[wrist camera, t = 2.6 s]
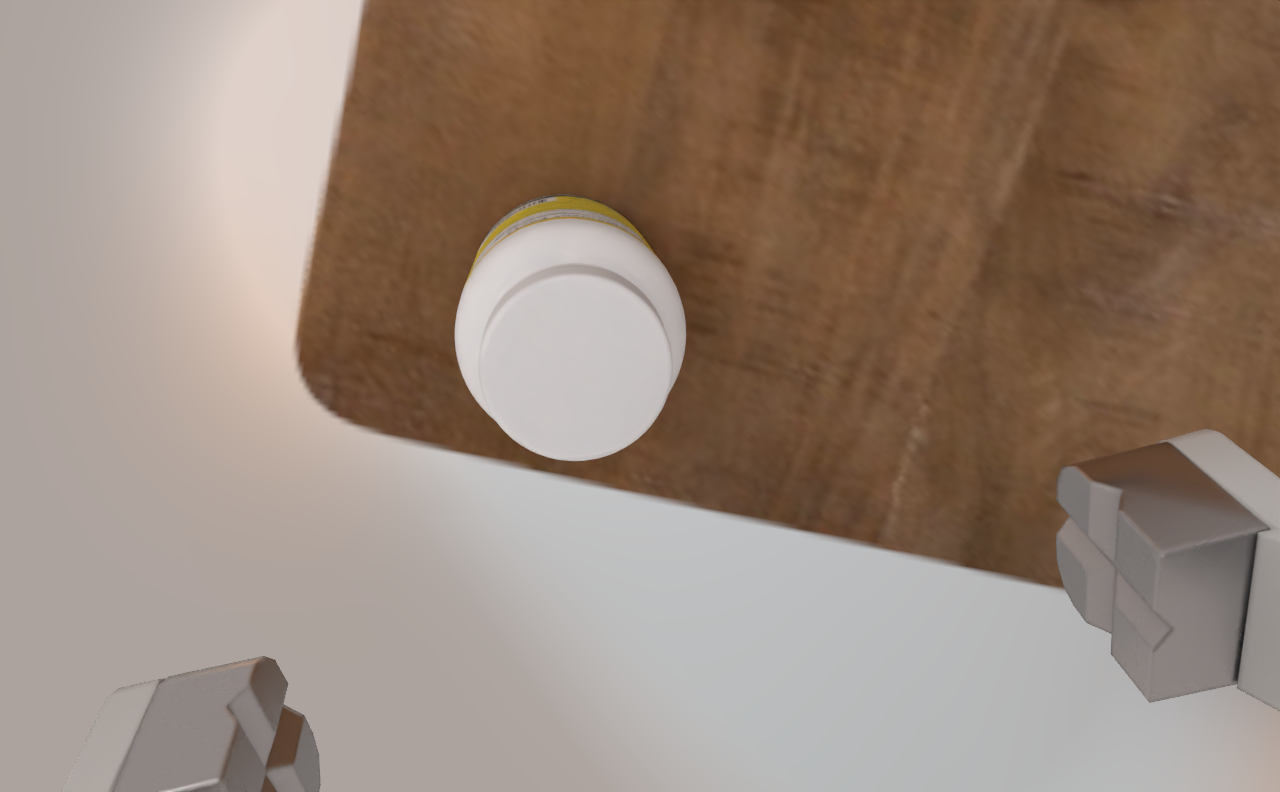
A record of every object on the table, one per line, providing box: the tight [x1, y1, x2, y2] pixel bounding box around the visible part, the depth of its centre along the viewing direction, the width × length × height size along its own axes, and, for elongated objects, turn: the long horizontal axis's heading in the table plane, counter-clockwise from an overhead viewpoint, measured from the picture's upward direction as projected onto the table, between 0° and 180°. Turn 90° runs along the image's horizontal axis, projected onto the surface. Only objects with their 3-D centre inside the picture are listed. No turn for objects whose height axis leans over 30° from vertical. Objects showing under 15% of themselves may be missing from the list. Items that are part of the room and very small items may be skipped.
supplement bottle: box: [455, 195, 686, 461], centre depth 25 cm, size 5×5×10 cm
